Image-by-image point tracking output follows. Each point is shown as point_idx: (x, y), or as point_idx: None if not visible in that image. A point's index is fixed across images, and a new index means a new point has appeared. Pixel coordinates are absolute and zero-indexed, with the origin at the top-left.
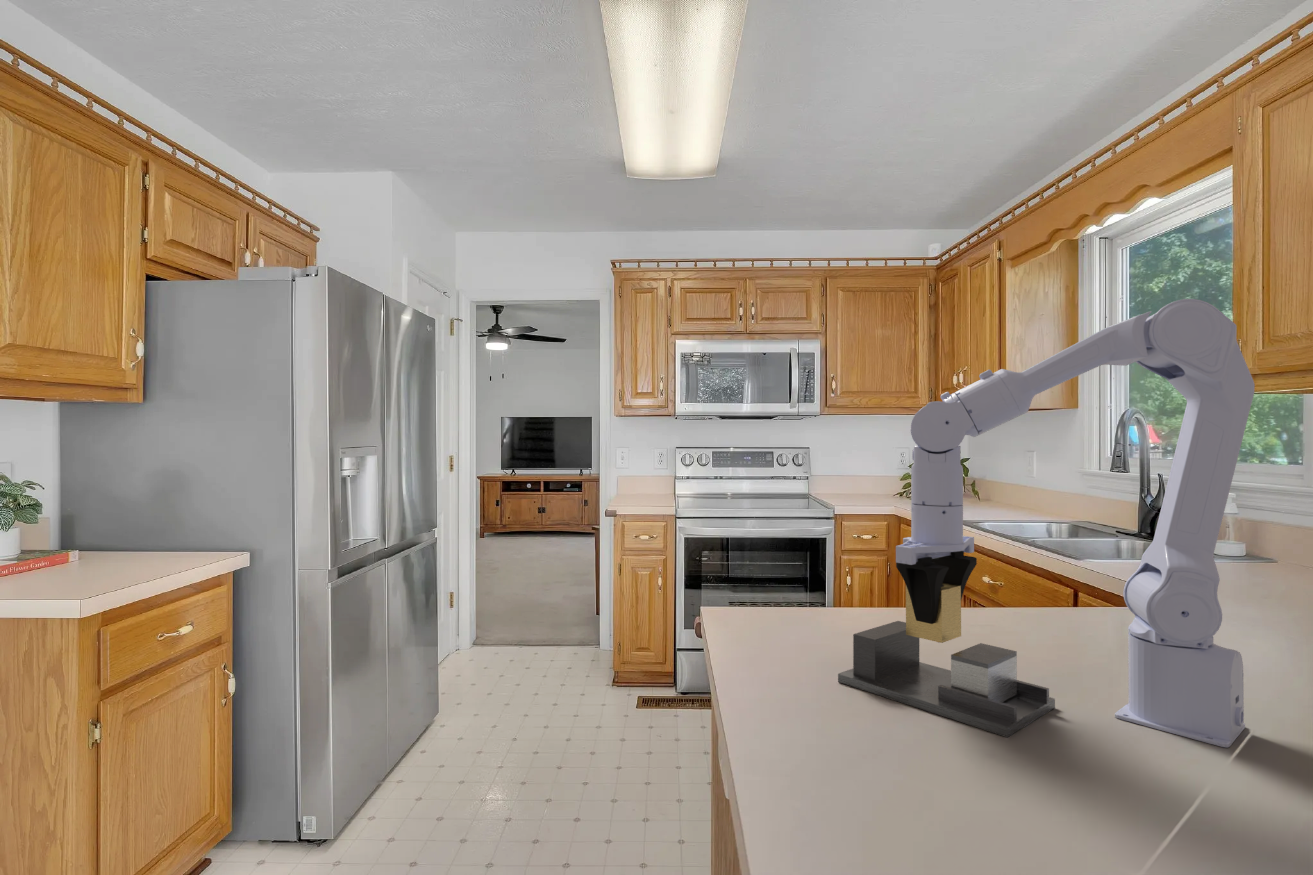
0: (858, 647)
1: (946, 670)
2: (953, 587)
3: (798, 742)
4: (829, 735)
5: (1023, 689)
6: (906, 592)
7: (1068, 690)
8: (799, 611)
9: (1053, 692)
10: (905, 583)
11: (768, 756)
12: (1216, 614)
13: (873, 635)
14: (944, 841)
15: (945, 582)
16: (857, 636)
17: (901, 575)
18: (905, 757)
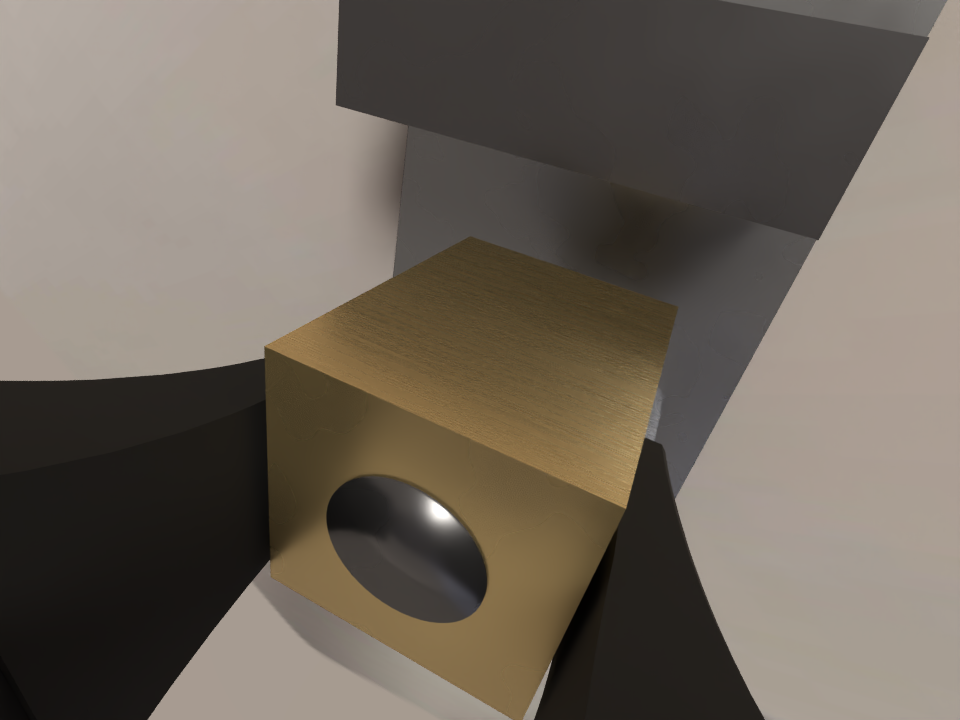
0: None
1: (756, 315)
2: (416, 662)
3: (86, 77)
4: (152, 121)
5: None
6: (317, 325)
7: (848, 636)
8: None
9: (799, 595)
10: (140, 378)
11: (17, 59)
12: None
13: (397, 59)
14: (93, 367)
15: (567, 658)
16: None
17: (41, 381)
18: (199, 290)
